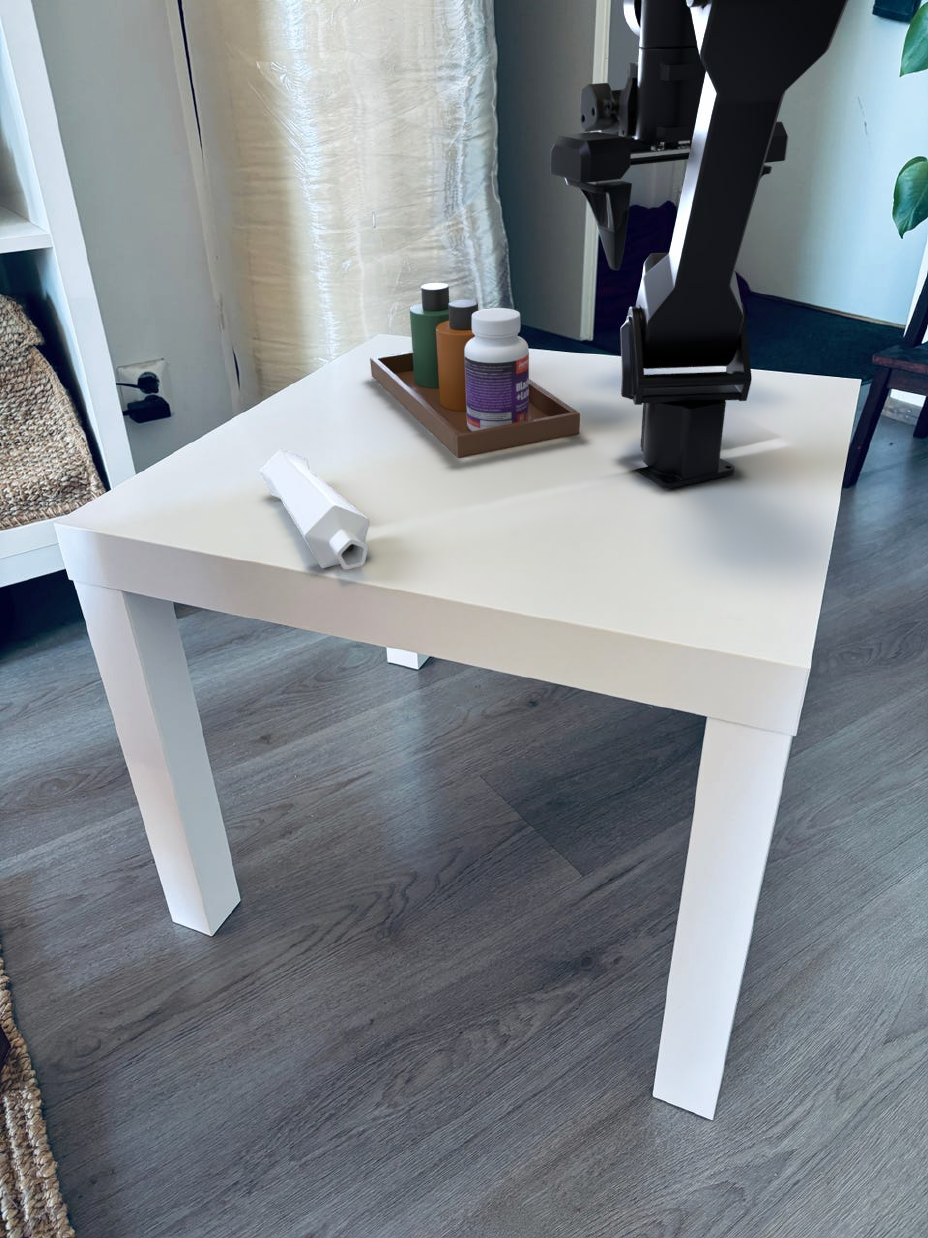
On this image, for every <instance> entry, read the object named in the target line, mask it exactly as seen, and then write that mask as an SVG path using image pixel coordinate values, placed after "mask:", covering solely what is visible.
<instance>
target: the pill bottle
mask: <svg viewBox="0 0 928 1238" xmlns="http://www.w3.org/2000/svg"><path fill="white" fill-rule="evenodd" d="M521 327H522V326H521V313H520V312H519V311H518V310H516V309H512V308H505V307H492V308H491V307H490V308H483V309H478V311H476V312H474V313H473V314H472V332H473V334H475V337H474V338H472V339H470V340H469V341H468V342H467V344H466V346H465V380H466V410H467V425H468V428H469V429H470V430H471V431H477V430H482V429H487V428H492V427H497V426H503V425H508V424H513V423H518V422H523V421H529V379H530V351H529V345H528V342H527V341H526V340H525V339H524V338H523V337H521V336H519V335H518V334H519V333H520V332H521Z"/></svg>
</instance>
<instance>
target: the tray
mask: <svg viewBox="0 0 928 1238" xmlns="http://www.w3.org/2000/svg"><path fill="white" fill-rule="evenodd" d="M369 362H370V374H371V377H372V378H373V379H374V380H375V381H376V382H377V383H378V384H379V385H380V386H381V387H383V388H384V389H385V390H386V391H387V392H388V393H389V394H390V396H392V397H393V398H394V399H395V400H396V401H397V402H398V403H399V404H400V405H401V406H402V407H404V409H406V410H407V411H408V412H409V413H410V414H411V415H412V416H413V417H414V418H415V419H416V420H417V421H418V422H419V423H421V425H422V426H424V428H426V429H427V430H428V431H429V432H430V433H431V434H432V435H433V436H434V437H435V438H436V439H437V440H438V441H439V442H440V443H441V444H442V445H444V447H446V449H448V450H449V451H450V452H451V453H452V454H453V455H454V456H455V457H456V458H457V459H462V458H466V457H472V456H475V455H481V454H486V453H492V452H495V451H501V450H502V451H503V450H506V449H512V448H517V447H521V446H526V445H531V444H535V443H541V442H545V441H551V440H555V439H560V438H561V439H562V438H566V437H571V436H576V435H579V434H580V431H581V430H580V428H581V427H580V426H581V413H580V412H579V411H577V410H576V409H574V408H573V407H572V406H570V405H569V404H567V403H566V402H564V401H563V400H561V399H560V398H558V397H556V396H555V395H554V394H552V392H549V391H548V390H547V389H545V388H543V387H542V386H540V385H539V384H537V383H536V382H534V381H533V380H531V379H530V378H529V421H523V422H518V423H513V424H508V425H503V426H497V427H492V428H487V429H482V430H477V431H471V430H470V429H469V428H468V425H467V411H454V410H449V409H446V408H444V407H443V406H441V404H440V392H439V388H427V387H422V386H419V385H417V384H416V383H415V381H414V367H413V352H412V350H410V351H405V352H398V353H392V354H385V355H380V356H373V357H370V358H369Z"/></svg>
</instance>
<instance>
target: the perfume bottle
mask: <svg viewBox="0 0 928 1238" xmlns="http://www.w3.org/2000/svg"><path fill="white" fill-rule="evenodd" d="M259 475H260V476H261V479H262V480H263V482H264V483H265V485H266V488H267V489H268V491H269V493H270V494H271V495H272V496H273V497H275V498H278V499H280V501H281V503H282V504H283V505H284V508H285V509H286V512H287V513H288V514H289V516H290V517H291V519H292V521H293V523H294V524H295V526H296V527H297V530H298V531H299V533H300V534H301V536H302V538H303V539H304V541H305V543H306V545H307V547H308V548H309V550H310V551H311V553H312V555H313V556H314V558H315V560H316V562H318V565H319V567H320V568H322V569H326V568H330V567H334V566H338V565H340V566H341V568H342V569H343V570H351V569H355V568H359V567H362V566H363V565H365V563H366V558H367V554H368V550H369V547H368V544H366V541H367V535H368V531H369V526H370V519H369V518H367V516H366V515H365V514H363V513H362V512H361V511H360V510H358V508H356V507H355V506H353V505H352V504H351V503H350V502H349V501H348V500H346V499H345V498H344V497H343V496H342V495H340V493H338V492H337V491H336V490H334V488H332V487H331V486H330V485H329V484H327V482H325V481H324V480H323V479H322V478H321V477H319V476H318V475H317V474H316V473H314V472H313V471H312V470H311V468H310V464H309V460H308V459H307V458H306V457H303V456H301V455H299V454H297V453H294V452H292V451H289V450H287V449H285V448H280V449H278V450H277V451H276V452H275V453H274V454H273V455H272V456H271V457H270V458H269V459H268V460H267V462H265V463H264V465H262V467H261V468H260V469H259Z"/></svg>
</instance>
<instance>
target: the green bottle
mask: <svg viewBox="0 0 928 1238" xmlns="http://www.w3.org/2000/svg"><path fill="white" fill-rule="evenodd" d="M420 291H421V292H420V293H421V294H420V295H421V302H420V303H417V304H414V305H412V306H411V307H410V308H409V317H410V318H409V321H410V335H411V336H410V337H411V351H412V352H413V367H414V381H415V383H416V384H417V385H419V386H422V387H427V388H439V374H438V355H437V337H436V327H437V325H439V324H440V323H443V322H446V321H449V306H448V305H449V303H450V302H451V301H450V286H449V284H448V283H444V282H429V283H425V284H422V285H421V286H420Z"/></svg>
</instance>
